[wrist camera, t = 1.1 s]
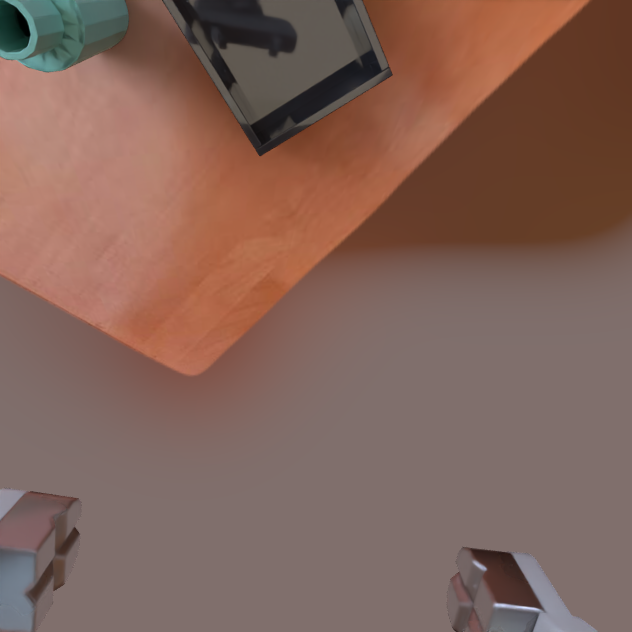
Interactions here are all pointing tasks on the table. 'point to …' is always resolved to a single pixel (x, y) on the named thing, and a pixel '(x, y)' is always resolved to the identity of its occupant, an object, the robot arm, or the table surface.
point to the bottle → (59, 31)
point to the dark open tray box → (283, 59)
